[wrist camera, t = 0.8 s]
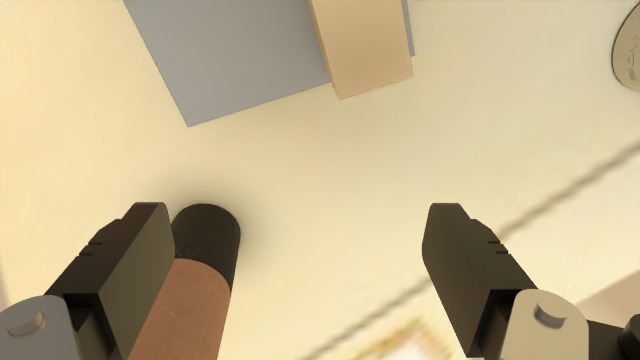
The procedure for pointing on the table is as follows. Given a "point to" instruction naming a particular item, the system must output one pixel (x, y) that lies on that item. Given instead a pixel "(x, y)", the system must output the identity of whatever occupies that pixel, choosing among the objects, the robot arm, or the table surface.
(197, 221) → the travel mug
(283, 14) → the shelf board
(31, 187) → the table surface
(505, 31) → the table surface
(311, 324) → the table surface
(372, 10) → the kraft carton
